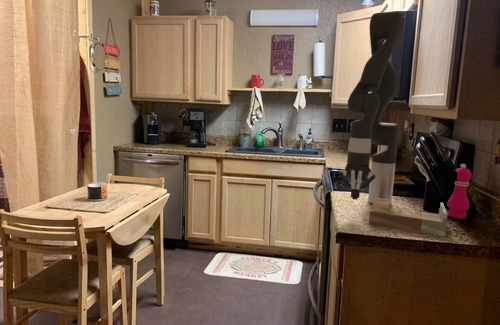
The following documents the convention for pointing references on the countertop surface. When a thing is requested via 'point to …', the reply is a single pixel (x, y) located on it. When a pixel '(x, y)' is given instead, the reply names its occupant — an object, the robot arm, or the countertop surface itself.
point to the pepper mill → (459, 194)
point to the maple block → (381, 205)
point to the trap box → (412, 221)
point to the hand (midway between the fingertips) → (354, 199)
